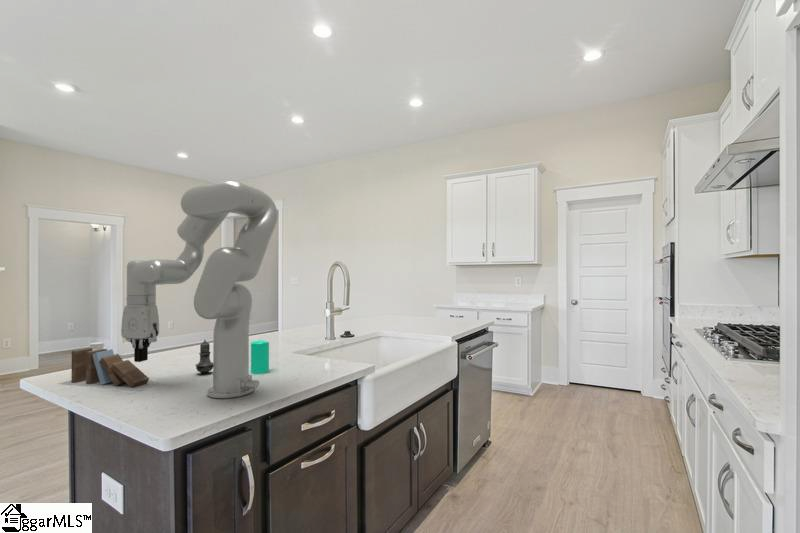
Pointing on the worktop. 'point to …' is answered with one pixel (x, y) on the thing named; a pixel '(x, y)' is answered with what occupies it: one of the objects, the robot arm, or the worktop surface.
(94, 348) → the supplement bottle
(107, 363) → the tile
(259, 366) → the candle
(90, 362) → the tile
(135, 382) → the tile
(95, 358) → the slate tile
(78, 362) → the tile
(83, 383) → the mat
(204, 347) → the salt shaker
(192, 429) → the worktop surface
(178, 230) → the robot arm
